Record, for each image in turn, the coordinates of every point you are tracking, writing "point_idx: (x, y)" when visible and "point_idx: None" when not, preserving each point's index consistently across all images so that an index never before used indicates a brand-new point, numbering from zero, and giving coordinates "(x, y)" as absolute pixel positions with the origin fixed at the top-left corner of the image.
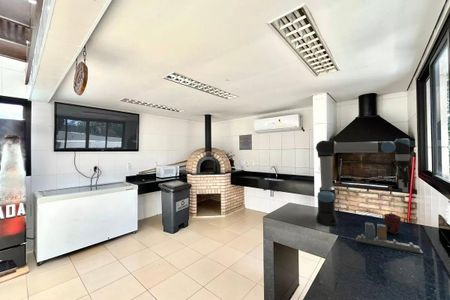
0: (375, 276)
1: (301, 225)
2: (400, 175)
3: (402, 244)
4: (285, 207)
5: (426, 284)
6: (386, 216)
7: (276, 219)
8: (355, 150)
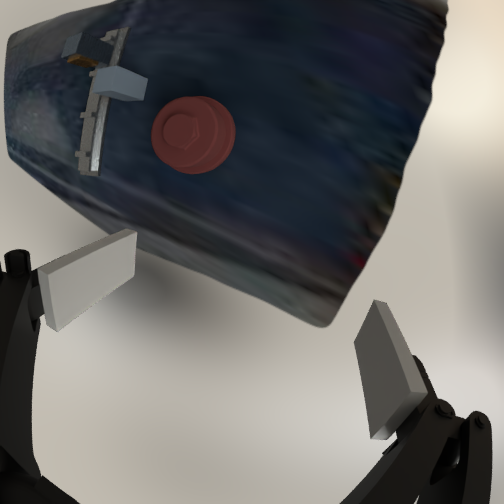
0: (21, 81)
1: None
2: (365, 491)
3: (84, 132)
4: None
5: (16, 142)
6: (170, 102)
7: None
8: None
